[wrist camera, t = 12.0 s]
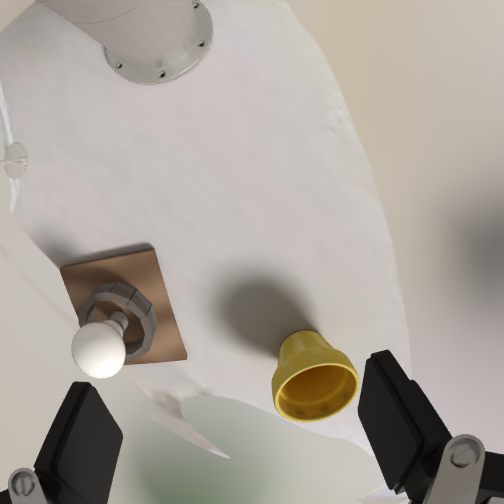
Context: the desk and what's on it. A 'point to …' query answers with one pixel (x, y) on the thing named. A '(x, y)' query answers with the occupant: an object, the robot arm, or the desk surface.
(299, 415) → the plant pot
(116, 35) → the robot arm
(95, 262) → the bulb holder
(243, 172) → the desk surface
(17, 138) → the desk surface
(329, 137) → the desk surface
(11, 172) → the wineglass
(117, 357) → the lightbulb
